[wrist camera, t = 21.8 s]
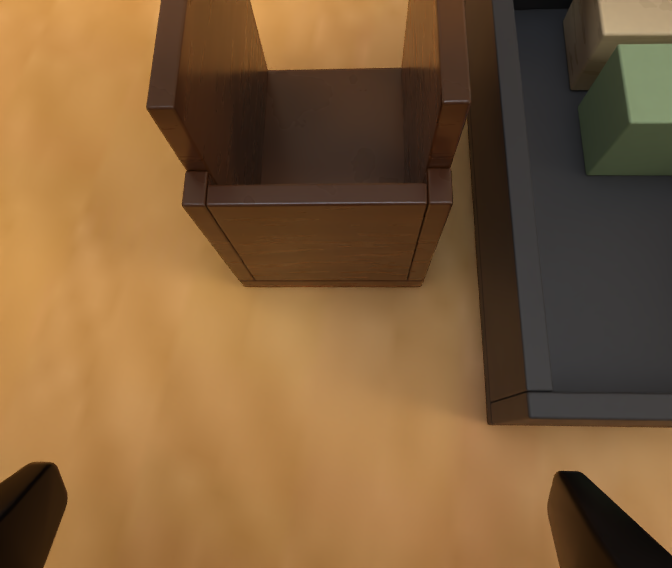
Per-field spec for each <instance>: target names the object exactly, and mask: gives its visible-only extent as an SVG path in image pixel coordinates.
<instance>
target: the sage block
mask: <svg viewBox="0 0 672 568" xmlns="http://www.w3.org/2000/svg"><path fill="white" fill-rule="evenodd" d="M578 113H579V121H580V129H581V137H582V146H583V154H584V162H585V170H586V175H672V44H619V45H617V47H616V48H615V50H614V52H613V53H612V55H611V56H610V58H609V59H608V61H607V62H606V64H605V66H604V67H603V69H602V70H601V72H600V73H599V75H598V76H597V78H596V80H595V81H594V83H593V84H592V86H591V87H590V89H589V90H588V92H587V94H586V95H585V97H584V98H583V100H582V101H581V103H580V104H579V106H578Z"/></svg>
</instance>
